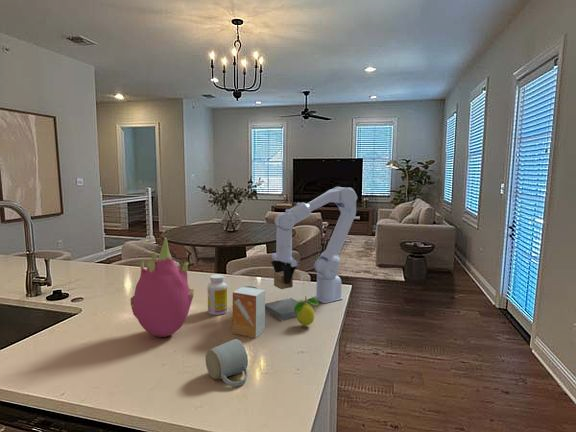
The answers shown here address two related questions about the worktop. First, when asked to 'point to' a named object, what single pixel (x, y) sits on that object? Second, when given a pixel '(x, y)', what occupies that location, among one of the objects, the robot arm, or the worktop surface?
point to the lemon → (305, 312)
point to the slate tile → (282, 308)
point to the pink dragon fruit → (162, 295)
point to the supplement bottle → (217, 295)
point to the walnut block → (281, 281)
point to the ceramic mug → (227, 361)
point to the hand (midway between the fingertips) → (283, 281)
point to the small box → (249, 311)
